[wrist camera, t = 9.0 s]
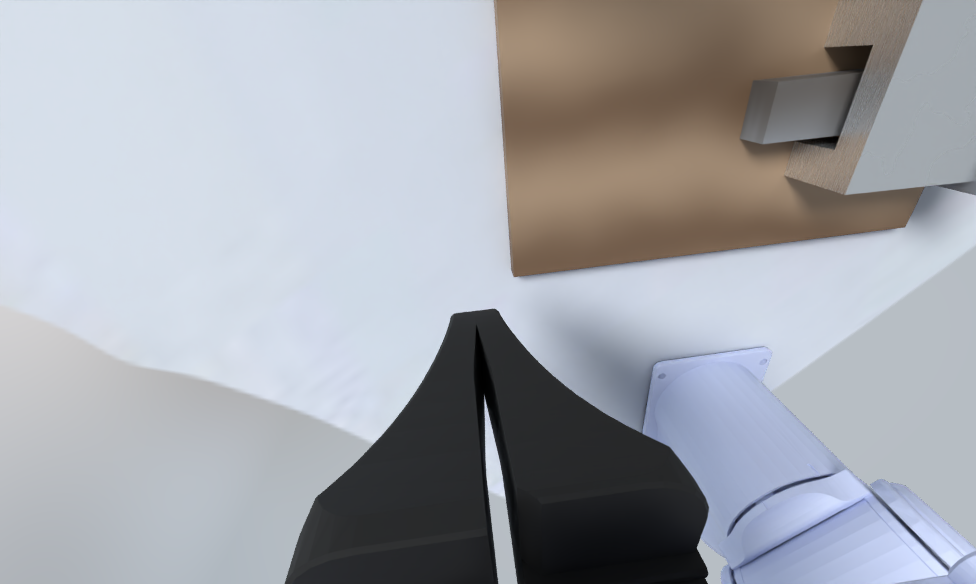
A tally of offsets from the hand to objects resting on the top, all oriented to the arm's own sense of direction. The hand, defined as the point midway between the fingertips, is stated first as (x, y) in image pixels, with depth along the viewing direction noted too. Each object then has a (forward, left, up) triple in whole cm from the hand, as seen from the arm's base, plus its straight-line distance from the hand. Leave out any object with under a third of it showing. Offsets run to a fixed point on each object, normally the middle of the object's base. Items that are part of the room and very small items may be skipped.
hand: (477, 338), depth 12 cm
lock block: (+4, -19, -9) cm, 21 cm away
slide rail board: (+4, -13, -9) cm, 17 cm away
